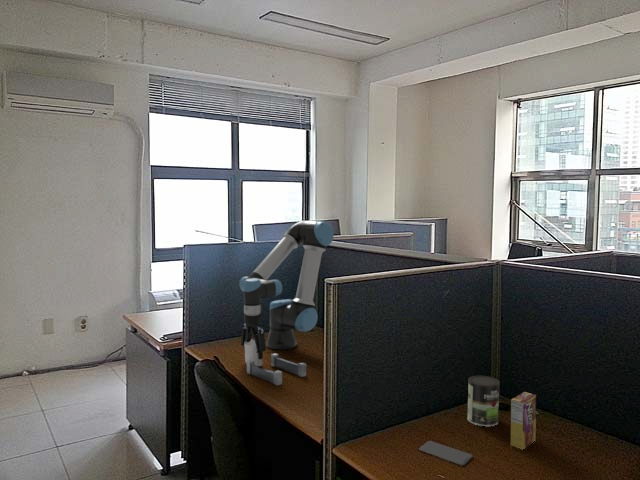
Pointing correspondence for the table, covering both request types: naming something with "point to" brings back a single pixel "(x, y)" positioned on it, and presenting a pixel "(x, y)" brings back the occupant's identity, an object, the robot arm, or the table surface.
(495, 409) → the coffee can
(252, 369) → the channel guide
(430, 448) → the smartphone
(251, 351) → the white cup
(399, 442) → the table surface
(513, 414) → the candy box
